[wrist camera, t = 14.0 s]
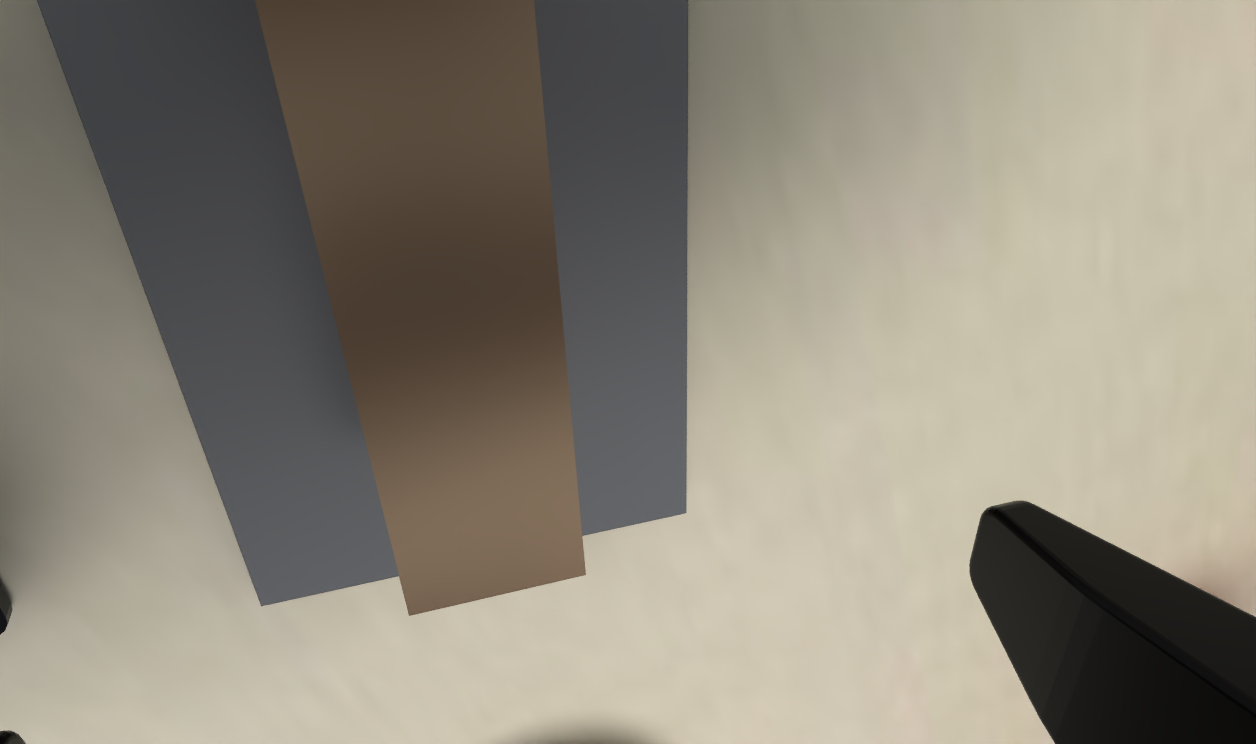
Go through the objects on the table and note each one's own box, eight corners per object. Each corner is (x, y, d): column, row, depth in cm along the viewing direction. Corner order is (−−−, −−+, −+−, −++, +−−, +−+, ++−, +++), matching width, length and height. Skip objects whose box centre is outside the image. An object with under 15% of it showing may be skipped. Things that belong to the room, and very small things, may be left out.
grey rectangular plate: (262, 586, 22) (261, 606, 21) (-310, -989, 9) (-345, -1030, 9) (678, 497, 24) (686, 512, 23) (674, -894, 11) (690, -922, 11)
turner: (621, 390, 21) (696, 549, 17) (288, 454, 19) (283, 644, 15) (560, -802, 11) (704, -1104, 7) (-118, -845, 10) (-425, -1260, 6)
